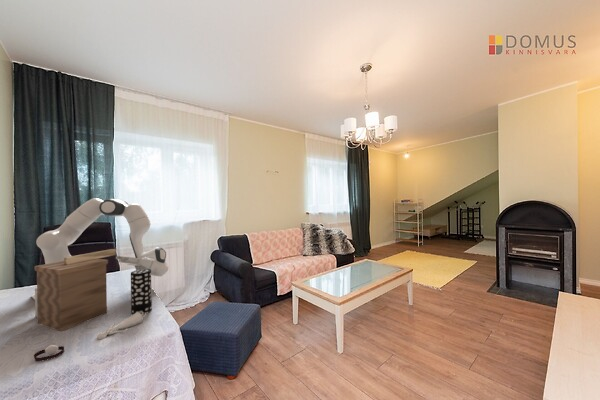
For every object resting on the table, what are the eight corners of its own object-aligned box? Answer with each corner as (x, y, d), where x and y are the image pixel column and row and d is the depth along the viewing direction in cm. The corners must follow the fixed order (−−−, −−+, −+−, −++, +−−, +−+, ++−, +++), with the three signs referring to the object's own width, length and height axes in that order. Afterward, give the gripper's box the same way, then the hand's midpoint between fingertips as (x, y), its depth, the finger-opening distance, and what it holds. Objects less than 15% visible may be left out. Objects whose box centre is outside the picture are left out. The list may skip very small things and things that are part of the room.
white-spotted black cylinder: (155, 309, 116) (154, 269, 116) (137, 317, 109) (137, 274, 109) (145, 306, 120) (144, 268, 120) (127, 314, 112) (126, 272, 112)
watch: (67, 350, 85) (67, 340, 85) (60, 358, 81) (60, 347, 81) (38, 356, 82) (38, 346, 82) (29, 364, 78) (29, 354, 78)
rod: (64, 264, 107) (64, 257, 107) (112, 254, 126) (112, 248, 126) (67, 264, 106) (67, 258, 106) (115, 254, 125) (115, 249, 125)
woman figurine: (151, 312, 105) (103, 336, 88) (152, 321, 105) (104, 347, 89) (137, 307, 110) (89, 328, 94) (137, 316, 110) (90, 339, 94)
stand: (35, 323, 104) (34, 266, 104) (84, 306, 121) (83, 256, 121) (60, 332, 97) (59, 270, 97) (108, 312, 114) (107, 259, 114)
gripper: (134, 258, 146) (113, 251, 135) (157, 260, 139) (137, 253, 128) (129, 268, 143) (107, 261, 132) (152, 271, 136) (131, 265, 125)
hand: (122, 257), depth 130 cm, fingers open, 8 cm apart
